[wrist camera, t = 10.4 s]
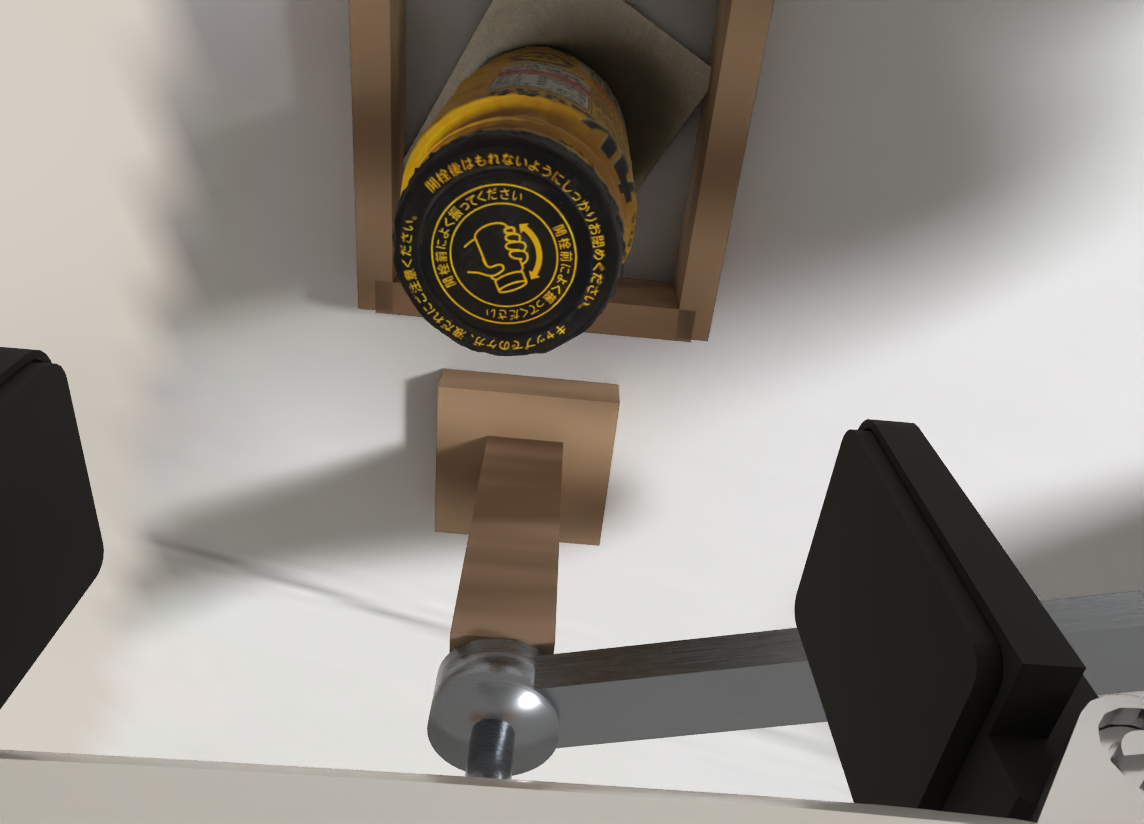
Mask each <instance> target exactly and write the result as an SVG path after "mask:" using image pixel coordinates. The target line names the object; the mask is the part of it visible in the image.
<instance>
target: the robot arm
mask: <svg viewBox="0 0 1144 824" xmlns="http://www.w3.org/2000/svg"><path fill="white" fill-rule="evenodd" d="M103 553H104V548H103V541H102V537H101V532H100V528H99V523H98V519H97V514H96V509H95V505H94V500H93V496H92V491H91V486H90V482H89V477H88V473H87V468H86V464H85V460H84V454H83V450H82V445H81V441H80V436H79V432H78V427H77V423H76V418H75V413H74V409H73V404H72V400H71V395H70V390H69V386H68V382H67V377H66V374H65V371H64V370H63V369H62V367H61V366H59V365H57V364H52V363H51V360H50V359H49V357H48V356H47V355H46V354H45V353H44V352H42V351H40V350H29V349H18V348H5V347H0V709H1V708H2V706H3V705H4V703H5V702H6V701H7V699H8V698H9V697H10V695H11V694H12V692H13V691H14V689H15V688H16V687H17V686H18V684H19V683H20V681H21V680H22V679H23V677H24V676H25V674H26V673H27V672H28V670H29V669H30V668H31V666H32V665H33V663H34V662H35V661H36V659H37V658H38V657H39V655H40V654H41V652H42V651H43V650H44V648H45V647H46V646H47V644H48V643H49V641H50V640H51V639H52V637H53V636H54V635H55V633H56V632H57V630H58V629H59V627H60V626H61V625H62V624H63V622H64V621H65V619H66V618H67V617H68V615H69V614H70V612H71V611H72V610H73V608H74V607H75V606H76V604H77V603H78V601H79V600H80V599H81V597H82V596H83V595H84V593H85V592H86V590H87V589H88V588H89V586H90V585H91V584H92V582H93V581H94V579H95V578H96V576H97V575H98V573H99V571H100V568H101V565H102V561H103ZM795 621H796V626H797V629H798V632H799V635H800V638H801V641H802V644H803V647H804V651H805V654H806V657H807V660H808V663H809V666H810V669H811V672H812V675H813V678H814V681H815V684H816V687H817V690H818V693H819V697H820V700H821V703H822V706H823V709H824V712H825V715H826V718H827V721H828V724H829V727H830V730H831V733H832V736H833V740H834V743H835V746H836V749H837V752H838V755H839V758H840V761H841V764H842V767H843V770H844V773H845V776H846V779H847V783H848V786H849V789H850V792H851V795H852V798H853V801H854V803H845V802H831V801H817V800H805V799H793V798H781V797H768V796H754V795H738V794H723V793H708V792H693V791H678V790H663V789H648V788H632V787H617V786H602V785H587V784H572V783H557V782H541V781H526V780H511V779H495V778H479V777H462V776H446V775H430V774H413V773H397V772H381V771H364V770H348V769H331V768H314V767H298V766H281V765H264V764H247V763H230V762H213V761H196V760H180V759H161V758H143V757H125V756H106V755H88V754H70V753H51V752H32V751H15V750H0V824H1144V698H1140V697H1136V696H1131V695H1105V696H1103V697H1100V698H1099V697H1098V696H1097V694H1096V693H1095V691H1094V690H1093V688H1092V687H1091V685H1090V684H1089V682H1088V681H1087V680H1086V678H1085V677H1084V675H1083V673H1084V671H1085V670H1086V667H1085V665H1084V664H1083V662H1082V661H1081V659H1080V658H1079V656H1078V655H1077V654H1076V652H1075V651H1074V649H1073V648H1072V646H1071V645H1070V644H1069V642H1068V641H1067V639H1066V638H1065V636H1064V635H1063V634H1062V632H1061V631H1060V629H1059V628H1058V626H1057V625H1056V624H1055V622H1054V621H1053V619H1052V618H1051V616H1050V615H1049V614H1048V612H1047V611H1046V609H1045V608H1044V606H1043V605H1042V603H1041V602H1040V601H1039V599H1038V598H1037V596H1036V595H1035V593H1034V592H1033V591H1032V589H1031V588H1030V586H1029V585H1028V583H1027V582H1026V581H1025V579H1024V578H1023V576H1022V575H1021V573H1020V572H1019V571H1018V569H1017V568H1016V566H1015V565H1014V563H1013V562H1012V561H1011V559H1010V558H1009V556H1008V555H1007V553H1006V552H1005V550H1004V549H1003V548H1002V546H1001V545H1000V543H999V542H998V540H997V539H996V538H995V536H994V535H993V533H992V532H991V530H990V529H989V528H988V526H987V525H986V523H985V522H984V520H983V519H982V518H981V516H980V515H979V513H978V512H977V510H976V509H975V508H974V506H973V505H972V503H971V502H970V500H969V499H968V497H967V496H966V495H965V493H964V492H963V490H962V489H961V487H960V486H959V485H958V483H957V482H956V480H955V479H954V477H953V476H952V475H951V473H950V472H949V470H948V469H947V467H946V466H945V465H944V463H943V462H942V460H941V459H940V457H939V456H938V455H937V453H936V452H935V450H934V449H933V447H932V446H931V444H930V443H929V442H928V440H927V439H926V437H925V436H924V434H923V433H922V432H921V430H920V429H919V427H918V426H916V425H915V424H914V423H906V422H894V421H882V420H870V419H867V420H865V421H864V422H863V423H862V424H861V425H860V427H859V429H858V430H848V431H847V432H846V433H845V435H844V437H843V440H842V442H841V446H840V449H839V452H838V456H837V459H836V463H835V466H834V469H833V473H832V476H831V480H830V483H829V486H828V490H827V493H826V496H825V500H824V503H823V507H822V510H821V513H820V517H819V520H818V524H817V527H816V530H815V534H814V537H813V540H812V544H811V547H810V551H809V554H808V557H807V561H806V564H805V568H804V571H803V574H802V578H801V581H800V584H799V588H798V591H797V595H796V600H795Z"/></svg>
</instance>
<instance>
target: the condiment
mask: <svg viewBox="0 0 1144 824" xmlns="http://www.w3.org/2000/svg"><path fill="white" fill-rule="evenodd" d="M710 72H711V67H710V66H709V65H708V64H707V63H705V62H704V61H702V60H701V59H699V58H698V57H697V56H696V55H695V54H693V53H692V52H691V51H689V50H688V49H687V48H685V47H684V46H683V45H681V44H680V43H679V42H677V41H676V40H675V39H674V38H672V37H671V36H670V35H668V34H667V33H665V32H664V31H662V30H661V29H660V28H659V27H658V26H657V25H655V24H654V23H652V22H651V21H650V20H648V19H647V18H645V17H644V16H643V15H642V14H640V13H639V12H638V11H636V10H635V9H634V8H632V7H631V6H630V5H628V4H627V3H626V2H624V1H623V0H492V3H491V4H490V6H489V8H488V9H487V11H486V13H485V15H484V16H483V18H482V20H481V22H480V23H479V25H478V27H477V29H476V31H475V32H474V34H473V36H472V38H471V40H470V41H469V43H468V45H467V47H466V49H465V50H464V52H463V54H462V56H461V58H460V59H459V61H458V63H457V65H456V67H455V68H454V70H453V72H452V74H451V76H450V77H449V79H448V81H447V83H446V85H445V86H444V88H443V90H442V92H441V94H440V95H439V97H438V99H437V101H436V102H435V104H434V106H433V108H432V110H431V111H430V113H429V115H428V117H427V119H426V120H425V122H424V124H423V126H422V127H421V129H420V131H419V133H418V135H417V137H416V138H415V140H414V142H413V144H412V145H411V147H410V149H409V151H408V153H407V154H406V156H405V158H404V160H403V167H405V169H404V172H403V180H402V186H401V197H400V199H399V200H398V205H397V210H396V211H395V218H394V225H395V231H394V233H393V234H392V239H393V246H394V249H395V251H394V259H393V261H394V265H395V268H396V272H397V275H398V278H399V280H400V283H401V285H402V287H403V289H404V291H405V292H406V294H407V295H408V297H409V298H410V300H411V302H412V303H413V305H414V306H415V308H416V309H417V310H418V312H419V313H420V314H421V315H422V316H423V317H424V318H425V320H427V321H428V322H429V323H430V324H431V325H432V326H434V327H435V328H436V329H438V330H439V331H441V332H442V333H443V334H445V335H446V336H448V337H449V338H451V339H452V340H453V341H455V342H456V343H458V344H460V345H461V346H464V347H467V348H469V349H471V350H473V351H477V352H486V353H489V354H493V355H497V356H516V355H528V354H534V353H546V352H548V351H550V350H552V349H554V348H556V347H558V346H560V345H562V344H564V343H566V342H567V341H569V340H571V339H572V338H574V337H576V336H578V335H580V334H581V333H583V332H584V331H586V330H587V329H588V328H589V327H590V326H591V325H592V324H593V323H594V322H595V320H596V319H597V317H598V316H599V315H601V314H602V312H603V310H604V309H605V308H606V306H607V304H608V301H609V299H610V298H612V297H613V296H614V295H615V292H616V288H617V283H618V279H619V278H620V277H622V276H623V273H624V266H623V264H624V262H625V261H626V259H627V256H628V254H629V252H630V250H631V247H632V242H633V239H634V235H635V228H636V218H637V198H636V194H635V191H636V190H637V189H638V187H639V186H640V185H641V183H642V182H643V181H644V180H645V178H646V176H647V175H648V173H649V172H650V171H651V170H652V168H653V167H654V166H655V164H656V163H657V162H658V160H659V158H660V157H661V155H662V154H663V153H664V151H665V150H666V148H667V147H668V146H669V144H670V143H671V142H672V140H673V139H674V137H675V136H676V134H677V133H678V131H679V130H680V129H681V127H682V126H683V125H684V123H685V122H686V120H687V119H688V117H689V116H690V115H691V113H692V112H693V111H694V109H695V108H696V107H697V105H698V104H699V103H700V101H701V100H702V99H703V97H704V96H705V94H706V93H707V91H708V85H709V78H710Z"/></svg>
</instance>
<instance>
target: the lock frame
mask: <svg viewBox="0 0 1144 824" xmlns="http://www.w3.org/2000/svg"><path fill="white" fill-rule="evenodd" d="M773 2H774V0H720V2H719V8H718V14H717V20H716V26H715V32H714V38H713V44H712V50H711V56H710V62H709V66H710V67H711V72H710V78H709V85H708V91H707V93H706V94H705V96H704V98H703V104H702V110H701V116H700V122H699V129H698V135H697V141H696V147H695V153H694V159H693V165H692V171H691V177H690V183H689V189H688V195H687V201H686V207H685V213H684V219H683V225H682V231H681V237H680V243H679V249H678V255H677V261H676V268H675V274H674V280H673V283H667V282H656V281H646V280H636V279H625V278H619V279H618V283H617V288H616V292H615V295H614V296H613V297H612V298H610V299H609V301H608V304H607V306H606V308H605V309H604V310H603V312H602V314H601V315H599V316H598V317H597V319H596V320H595V322H594V323H593V324H592V325H591V326H590V327H589V328H588V329H587V330H586V331H584V332H589V333H599V334H610V335H621V336H631V337H642V338H652V339H663V340H674V341H684V342H691V340H701V341H708V337H709V332H710V327H711V322H712V316H713V311H714V306H715V301H716V296H717V291H718V286H719V280H720V275H721V270H722V265H723V260H724V255H725V249H726V244H727V239H728V234H729V229H730V224H731V219H732V213H733V208H734V203H735V198H736V193H737V188H738V182H739V177H740V172H741V167H742V162H743V157H744V152H745V146H746V141H747V136H748V131H749V126H750V121H751V115H752V110H753V105H754V100H755V95H756V90H757V85H758V79H759V74H760V69H761V64H762V59H763V54H764V49H765V43H766V38H767V33H768V28H769V23H770V18H771V12H772V7H773ZM349 19H350V51H351V84H352V116H353V149H354V182H355V214H356V247H357V280H358V308H361V309H371V310H376V313H386V314H397V315H408V316H418V317H423V316H422V315H421V314H420V313H419V312H418V310H417V309H416V308H415V306H414V305H413V303H412V302H411V300H410V298H409V297H408V295H407V294H406V292H405V291H404V289H403V287H402V285H401V283H400V280H399V278H398V275H397V272H396V268H395V265H394V261H393V259H394V251H395V249H394V246H393V239H392V234H393V233H394V231H395V225H394V218H395V211H396V210H397V205H398V200H399V199H400V197H401V186H402V180H403V172H404V169H405V167H403V160H404V158H405V0H349ZM619 405H620V400H619V386H618V385H616V384H605V383H594V382H583V381H572V380H561V379H550V378H539V377H528V376H518V375H507V374H496V373H485V372H474V371H463V370H452V369H443V372H442V375H441V378H440V381H439V384H438V402H437V451H436V500H435V532H446V533H458V534H469V537H468V542H467V548H466V553H465V558H464V563H463V569H462V574H461V579H460V585H459V590H458V595H457V600H456V606H455V611H454V616H453V622H452V627H451V632H450V652H451V651H453V650H454V649H456V648H457V647H459V646H461V645H463V644H465V643H468V642H470V641H474V640H478V639H483V638H507V639H513V640H518V641H521V642H524V643H527V644H529V645H531V646H533V647H535V648H537V649H538V650H540V651H541V652H543V653H544V654H545V655H552V654H554V645H555V627H556V603H557V580H558V556H559V542H564V543H575V544H587V545H599V544H600V537H601V530H602V523H603V516H604V509H605V502H606V495H607V488H608V481H609V474H610V467H611V460H612V453H613V446H614V439H615V432H616V425H617V418H618V411H619Z"/></svg>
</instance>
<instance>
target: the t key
mask: <svg viewBox="0 0 1144 824" xmlns="http://www.w3.org/2000/svg"><path fill="white" fill-rule="evenodd" d="M1040 602H1041V603H1042V605H1043V606H1044V608H1045V609H1046V611H1047V612H1048V614H1049V615H1050V616H1051V618H1052V619H1053V621H1054V622H1055V624H1056V625H1057V626H1058V628H1059V629H1060V631H1061V632H1062V634H1063V635H1064V636H1065V638H1066V639H1067V641H1068V642H1069V644H1070V645H1071V646H1072V648H1073V649H1074V651H1075V652H1076V654H1077V655H1078V656H1079V658H1080V659H1081V661H1082V662H1083V664H1084V665H1085V667H1086V670H1085V671H1084V673H1083V675H1084V677H1085V678H1086V680H1087V681H1088V682H1089V684H1090V685H1091V687H1092V688H1093V690H1094V691H1095V693H1096V694H1097V695H1101V694H1111V693H1121V692H1131V691H1142V690H1144V595H1143V594H1142V593H1141V591H1131V592H1122V593H1112V594H1103V595H1094V596H1085V597H1076V598H1066V599H1057V600H1048V601H1040ZM817 722H827V718H826V715H825V712H824V709H823V706H822V703H821V700H820V697H819V693H818V690H817V687H816V684H815V681H814V678H813V675H812V672H811V669H810V666H809V663H808V660H807V657H806V654H805V651H804V647H803V644H802V641H801V638H800V635H799V632H798V629H797V628H791V629H782V630H772V631H763V632H754V633H745V634H736V635H726V636H717V637H708V638H699V639H690V640H680V641H671V642H662V643H653V644H644V645H635V646H625V647H616V648H607V649H598V650H589V651H579V652H570V653H561V654H552V655H545V654H544V653H543V652H541V651H540V650H538V649H537V648H535V647H533V646H531V645H529V644H527V643H524V642H521V641H518V640H513V639H507V638H483V639H478V640H474V641H470V642H468V643H465V644H463V645H461V646H459V647H457V648H456V649H454V650H453V651H451V652H450V653H449V654H448V655H447V656H446V657H445V659H444V660H443V661H442V663H441V665H440V667H439V670H438V674H437V679H436V685H435V690H434V695H433V700H432V705H431V710H430V715H429V720H428V727H427V731H428V737H429V741H430V743H431V745H432V747H433V748H434V750H435V751H436V752H437V753H438V754H439V756H440V757H442V758H443V759H444V760H445V761H447V762H448V763H450V764H451V765H453V766H455V767H457V768H459V769H461V770H463V771H466V773H465V777H479V778H495V779H511V777H512V775H517V774H521V773H524V772H527V771H530V770H532V769H534V768H536V767H538V766H540V765H541V764H543V763H544V762H545V761H546V760H547V759H548V758H549V757H550V756H551V755H552V754H553V752H554V751H555V749H556V748H563V747H573V746H583V745H593V744H604V743H614V742H624V741H634V740H644V739H654V738H665V737H675V736H685V735H695V734H705V733H715V732H725V731H736V730H746V729H756V728H766V727H776V726H786V725H797V724H807V723H817Z"/></svg>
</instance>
